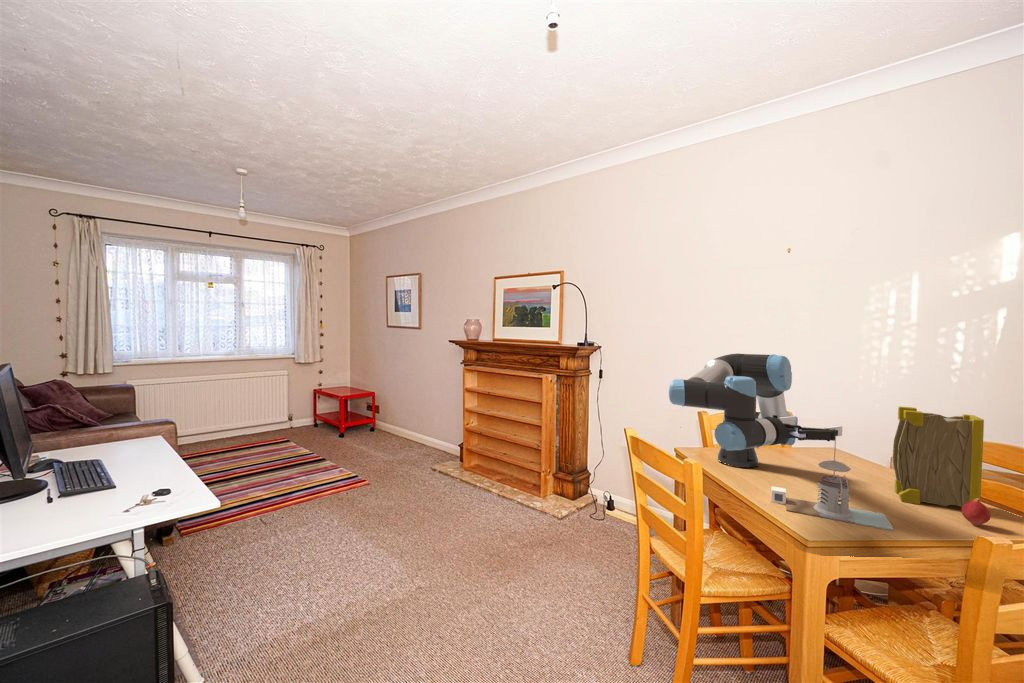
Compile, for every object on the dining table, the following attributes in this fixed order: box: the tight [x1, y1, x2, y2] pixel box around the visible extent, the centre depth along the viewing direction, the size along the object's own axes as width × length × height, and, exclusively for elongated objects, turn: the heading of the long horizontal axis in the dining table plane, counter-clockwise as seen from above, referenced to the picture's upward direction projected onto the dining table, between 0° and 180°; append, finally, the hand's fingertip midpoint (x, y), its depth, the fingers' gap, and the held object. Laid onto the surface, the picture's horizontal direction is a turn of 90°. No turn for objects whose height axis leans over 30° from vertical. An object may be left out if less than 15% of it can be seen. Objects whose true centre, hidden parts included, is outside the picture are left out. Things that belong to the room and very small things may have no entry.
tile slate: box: [816, 501, 855, 524], centre depth 136 cm, size 8×12×1 cm
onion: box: [961, 498, 992, 527], centre depth 129 cm, size 6×6×8 cm
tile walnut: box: [785, 496, 821, 518], centre depth 141 cm, size 8×12×1 cm
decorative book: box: [892, 406, 985, 508], centre depth 146 cm, size 20×11×30 cm, turn 58°
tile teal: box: [849, 507, 894, 531], centre depth 132 cm, size 8×12×1 cm
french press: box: [814, 437, 853, 517], centre depth 136 cm, size 10×12×25 cm
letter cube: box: [770, 485, 787, 506], centre depth 145 cm, size 4×4×4 cm
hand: (816, 425), depth 132 cm, fingers open, 13 cm apart
